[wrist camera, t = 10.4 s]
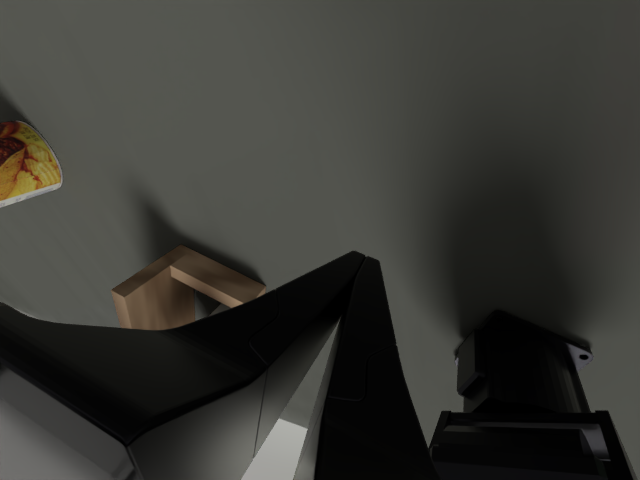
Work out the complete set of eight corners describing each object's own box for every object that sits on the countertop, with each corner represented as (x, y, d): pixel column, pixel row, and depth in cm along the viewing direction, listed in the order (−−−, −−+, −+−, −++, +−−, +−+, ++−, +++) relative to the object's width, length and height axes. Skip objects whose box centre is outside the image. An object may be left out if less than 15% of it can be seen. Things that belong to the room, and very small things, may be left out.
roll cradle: (266, 286, 30) (212, 347, 24) (251, 376, 40) (210, 436, 34) (180, 244, 33) (111, 290, 26) (186, 339, 42) (137, 389, 36)
